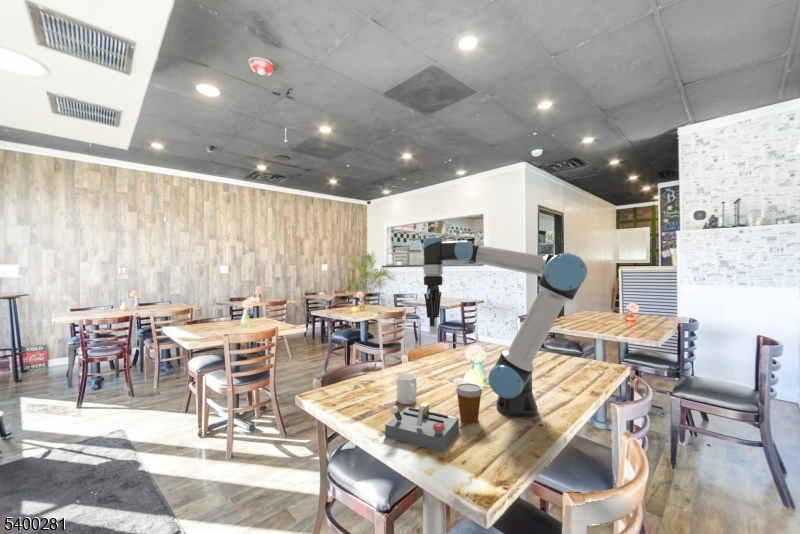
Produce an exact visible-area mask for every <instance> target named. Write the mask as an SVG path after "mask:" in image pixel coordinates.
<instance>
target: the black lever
mask: <svg viewBox="0 0 800 534" xmlns="http://www.w3.org/2000/svg"><path fill="white" fill-rule="evenodd" d="M391 412H392V413H393V415H394V417H396V419H397V420H398V421H401V419H402V417H401V415H400V412H401V411H400V410H399V407H398V406H397V405H394V406H392V408H391Z"/></svg>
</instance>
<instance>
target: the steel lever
mask: <svg viewBox="0 0 800 534" xmlns="http://www.w3.org/2000/svg"><path fill="white" fill-rule="evenodd" d="M417 409H419V412H418V418H417V424H416V426H420V427H422V421H423V415H424V411H425V406H424V405H422V404H419V406H418V408H417Z"/></svg>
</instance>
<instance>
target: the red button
mask: <svg viewBox="0 0 800 534" xmlns="http://www.w3.org/2000/svg"><path fill="white" fill-rule="evenodd" d="M433 429H434V430H435V434H436V435H438V436H441V435H443V431H444V430H445V425H444V424H442V423H434V424H433Z"/></svg>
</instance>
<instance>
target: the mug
mask: <svg viewBox="0 0 800 534" xmlns="http://www.w3.org/2000/svg"><path fill="white" fill-rule="evenodd" d="M396 401H397V402H398V403H399V404H401V405H405V406H406V405H407V406H409V405H412V404H415V403H416V401H417V375H416V374H412V373H401V374H398V375H397V376H396Z"/></svg>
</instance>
